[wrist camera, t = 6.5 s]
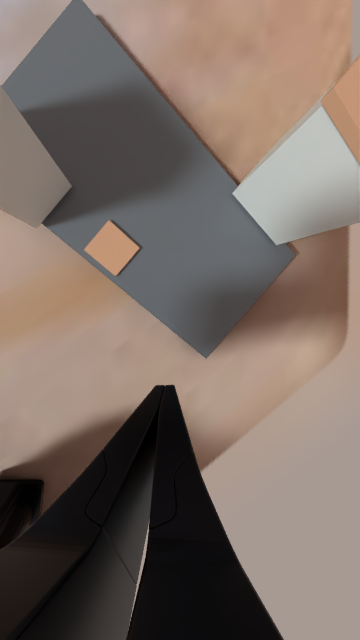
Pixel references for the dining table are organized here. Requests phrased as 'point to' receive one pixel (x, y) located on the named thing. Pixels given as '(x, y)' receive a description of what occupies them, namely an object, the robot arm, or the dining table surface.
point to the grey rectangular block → (26, 169)
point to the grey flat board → (141, 185)
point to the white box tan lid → (311, 169)
